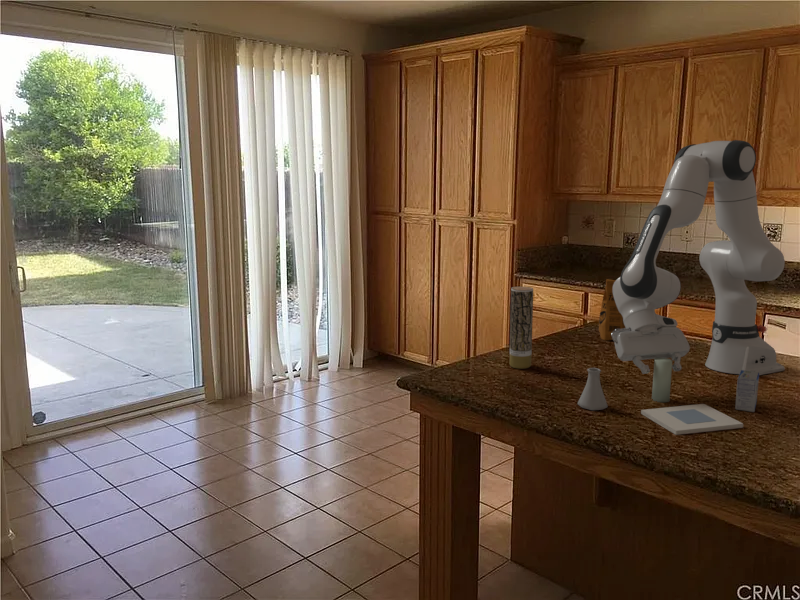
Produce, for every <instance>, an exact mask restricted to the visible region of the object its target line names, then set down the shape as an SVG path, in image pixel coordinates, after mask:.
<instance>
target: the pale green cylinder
mask: <svg viewBox="0 0 800 600" xmlns="http://www.w3.org/2000/svg"><path fill="white" fill-rule="evenodd" d="M653 362H654V363H653V373H652V374H653V375H652V391H651V400H652V399H653V400H652V401H654V402H656V401H657V403H669V402H670V397H671V386H672V385H671V383H672V373H673V372H672V370H673V368H672V365H673V360H672V358H655V359H653Z"/></svg>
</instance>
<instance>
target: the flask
mask: <svg viewBox="0 0 800 600" xmlns="http://www.w3.org/2000/svg"><path fill="white" fill-rule="evenodd" d="M586 370H587V373H588V375H587V380H586V384H585V386H584V389H583V391H582V393H581V395H580V396H579V397H580V398H579V399H578V401H577V405H578V406H580V408H582V409H587V410H589V411H599V410H601V411H602V410H605V409H606V408H608V405H609V404H608V403H607V400H606V397H605V394H604V391H603V387H602V385H601V378H600V373H602V370H601V369H600V368H597V367H590V368H587V369H586Z"/></svg>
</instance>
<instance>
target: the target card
mask: <svg viewBox="0 0 800 600" xmlns="http://www.w3.org/2000/svg"><path fill="white" fill-rule="evenodd" d="M640 414H641V415H642V416H644V417H646V418H647V419H649V420H650V421H652V422H654V423H655V424H657V425H659V426H661V427H662V428H664V429H666V430H667V431H669V432H670V433H672V434H673V435H675V436H677V435H687V434H688V435H689V434H695V433H704V432H705V433H707V432H714V431H725V430H733V429H742V428H744V423H743V422H741V421H739V420H737V419H735V418H733V417H731V416H728V415H727V414H725V413H723V412H721V411H719V410H717V409H715V408H713V407H711V406H710V405H708V404H705V403H699V404H698V403H697V404H688V405H687V404H686V405H678V406H677V405H676V406H668V407H659V408H656V407H655V408H648V409H640Z"/></svg>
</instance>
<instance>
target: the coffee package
mask: <svg viewBox="0 0 800 600" xmlns="http://www.w3.org/2000/svg"><path fill="white" fill-rule="evenodd" d="M616 280H617V279H615V280H614V279H609V278H608V279H607V278H606V280H605V287H604V292H603V296H602V301H601V308H600V312H599V319H598V332H599V335H600V339H601V340H602V341H605V342H606V341H609V342H610V341H613V339H612V336H611V334H612V332H613V331H614V330H615V329H623V328H625V325H624V322H623V317H622V315H621V314H620V312H619V311H618V308H617V306H616V303H615V300H614V296H613V284H614V282H615V281H616Z"/></svg>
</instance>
